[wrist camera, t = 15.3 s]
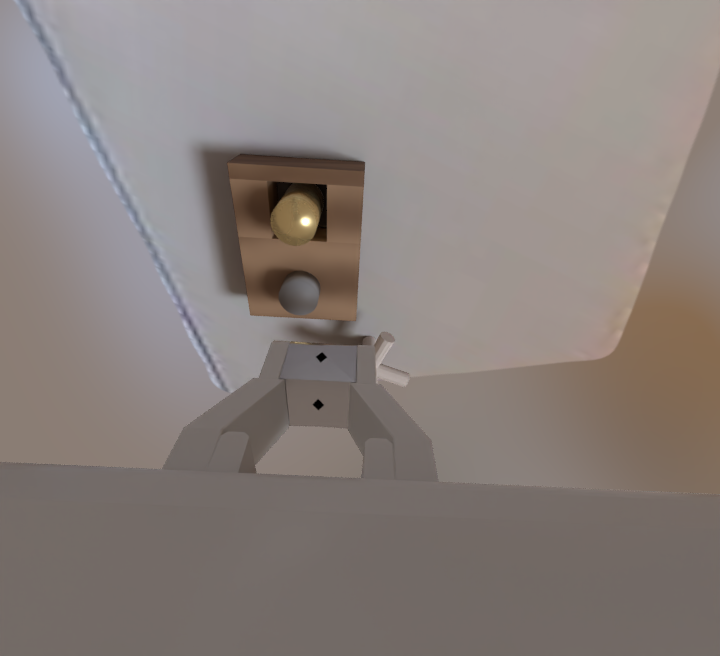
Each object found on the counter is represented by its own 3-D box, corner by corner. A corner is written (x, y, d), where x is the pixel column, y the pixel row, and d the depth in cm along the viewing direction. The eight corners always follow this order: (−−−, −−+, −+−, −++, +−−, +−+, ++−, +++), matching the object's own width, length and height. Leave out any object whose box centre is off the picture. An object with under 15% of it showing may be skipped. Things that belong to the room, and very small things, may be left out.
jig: (240, 154, 34) (217, 168, 29) (364, 162, 34) (364, 178, 29) (259, 297, 43) (244, 327, 38) (356, 302, 44) (355, 333, 38)
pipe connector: (386, 377, 51) (390, 435, 43) (321, 355, 49) (312, 412, 41) (420, 326, 46) (432, 381, 37) (349, 299, 43) (345, 351, 35)
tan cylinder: (284, 179, 35) (268, 199, 30) (324, 181, 35) (316, 202, 30) (286, 218, 38) (272, 244, 32) (324, 220, 38) (317, 246, 32)
